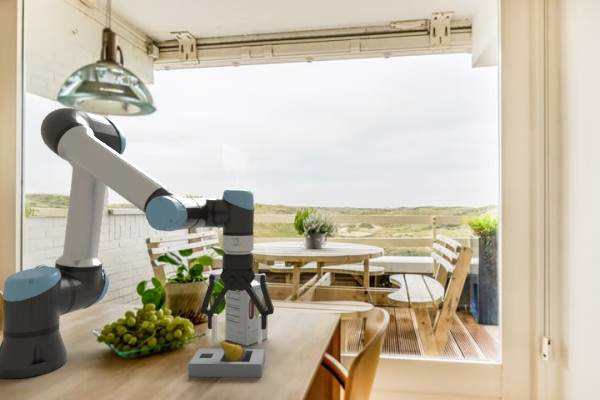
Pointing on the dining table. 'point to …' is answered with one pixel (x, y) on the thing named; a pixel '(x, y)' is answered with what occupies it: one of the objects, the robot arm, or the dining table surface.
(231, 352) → the yellow grooved cone
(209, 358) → the bit holder block
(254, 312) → the supplement box
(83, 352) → the dining table surface
